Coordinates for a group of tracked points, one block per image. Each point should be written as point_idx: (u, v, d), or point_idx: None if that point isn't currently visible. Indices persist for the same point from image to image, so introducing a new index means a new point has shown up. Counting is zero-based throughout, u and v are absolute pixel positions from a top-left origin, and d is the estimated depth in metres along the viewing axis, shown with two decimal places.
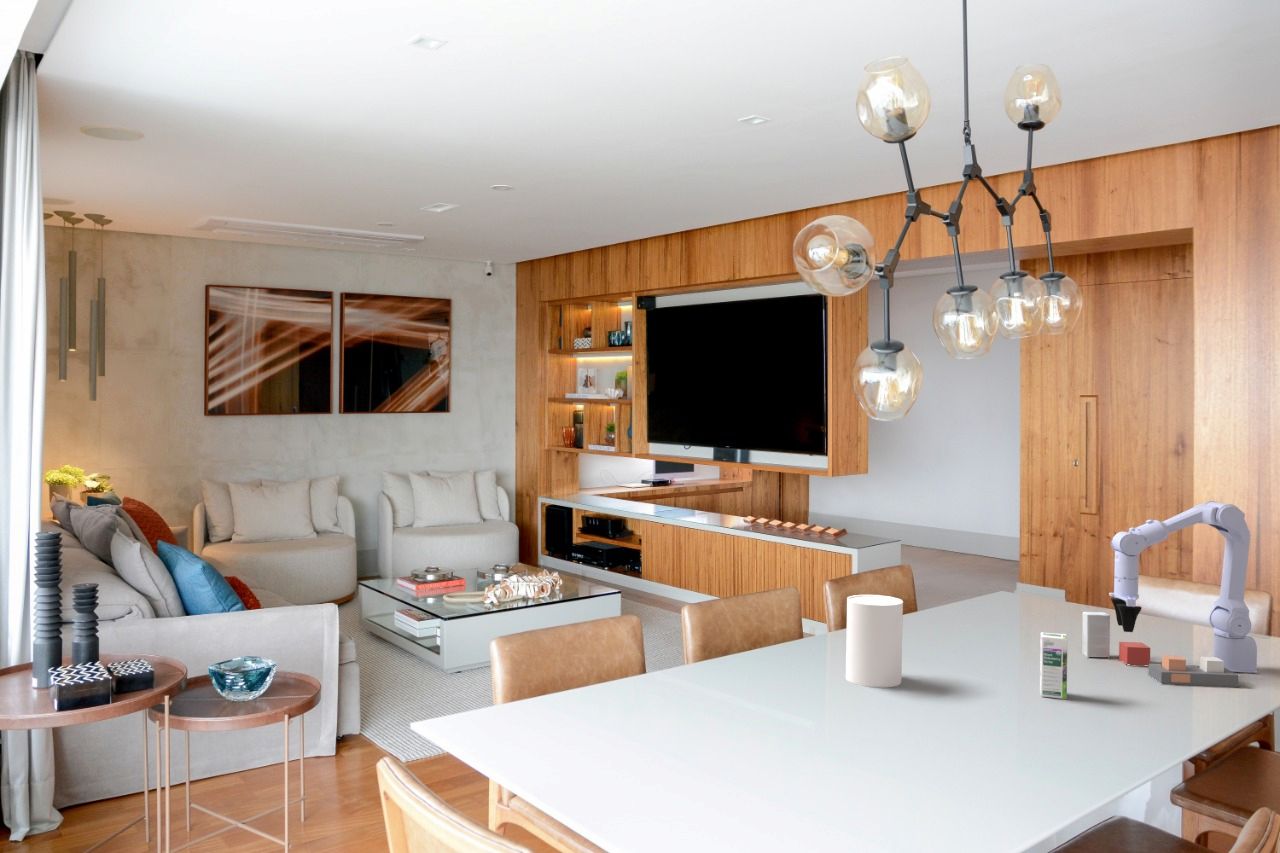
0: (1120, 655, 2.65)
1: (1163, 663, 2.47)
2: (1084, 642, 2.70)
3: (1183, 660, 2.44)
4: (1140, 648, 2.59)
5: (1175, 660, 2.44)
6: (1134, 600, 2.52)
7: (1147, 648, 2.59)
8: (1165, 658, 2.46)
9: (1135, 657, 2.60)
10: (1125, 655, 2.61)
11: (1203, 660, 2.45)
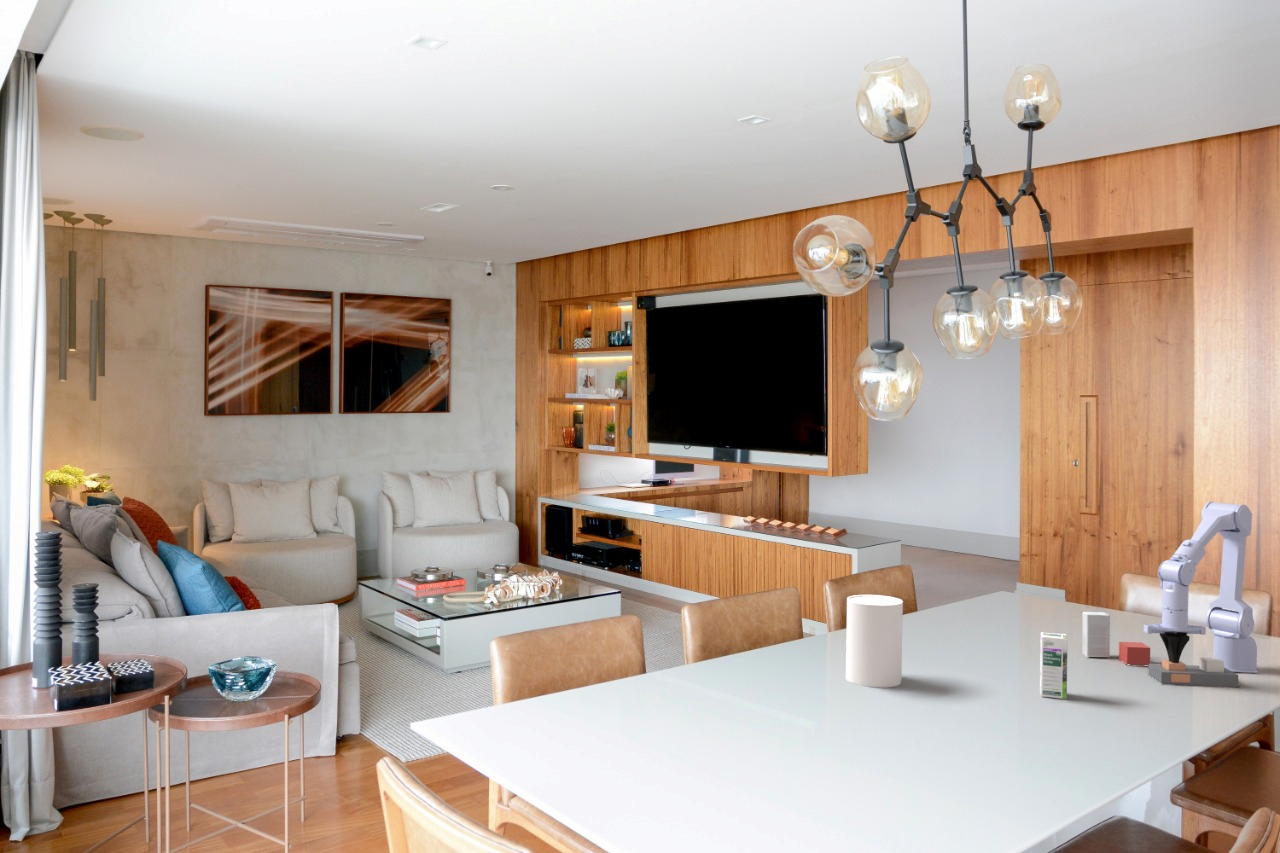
0: (1120, 655, 2.65)
1: None
2: (1084, 642, 2.70)
3: (1183, 665, 2.44)
4: (1140, 648, 2.59)
5: (1175, 665, 2.44)
6: (1147, 627, 2.45)
7: (1147, 648, 2.59)
8: (1165, 663, 2.46)
9: (1135, 657, 2.60)
10: (1125, 655, 2.61)
11: (1203, 660, 2.45)
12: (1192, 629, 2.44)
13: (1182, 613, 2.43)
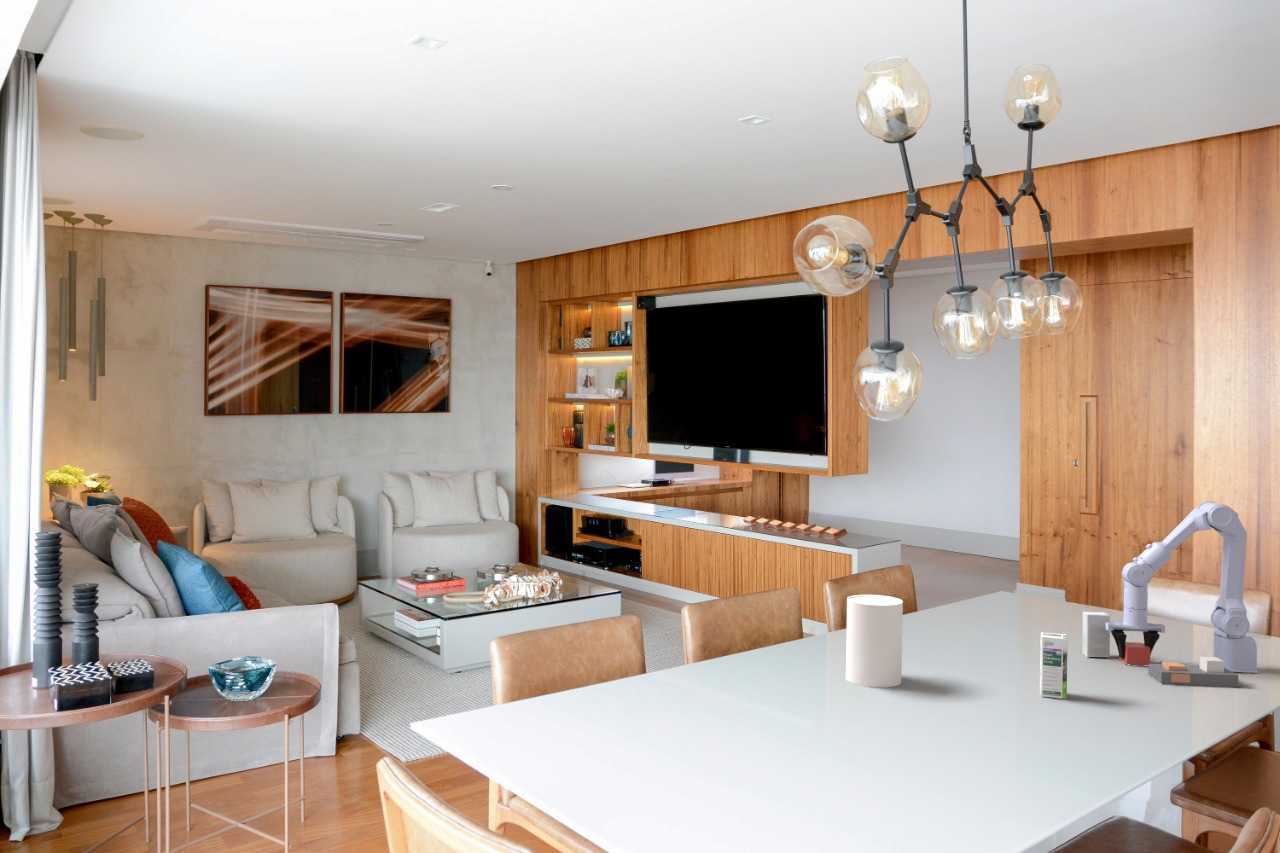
0: None
1: None
2: (1084, 642, 2.70)
3: (1183, 667, 2.44)
4: (1140, 648, 2.59)
5: (1175, 667, 2.44)
6: (1107, 624, 2.62)
7: (1147, 648, 2.59)
8: (1165, 665, 2.46)
9: (1135, 657, 2.60)
10: (1125, 655, 2.61)
11: (1203, 660, 2.45)
12: (1151, 627, 2.60)
13: (1140, 612, 2.59)
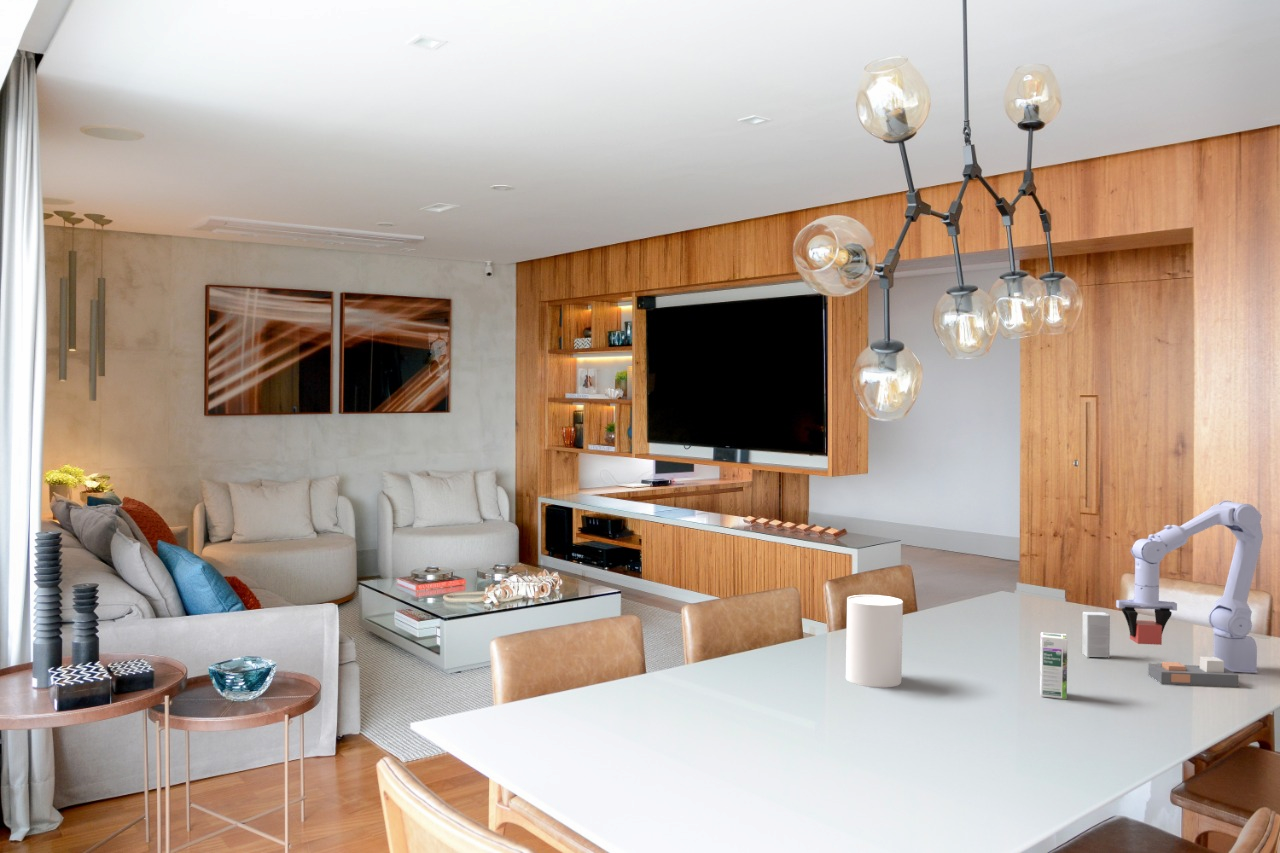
0: None
1: None
2: (1084, 642, 2.70)
3: (1183, 667, 2.44)
4: (1151, 626, 2.55)
5: (1175, 667, 2.44)
6: (1118, 602, 2.58)
7: (1159, 626, 2.54)
8: (1165, 665, 2.46)
9: (1146, 635, 2.55)
10: (1136, 633, 2.56)
11: (1203, 660, 2.45)
12: (1163, 605, 2.55)
13: (1152, 589, 2.54)
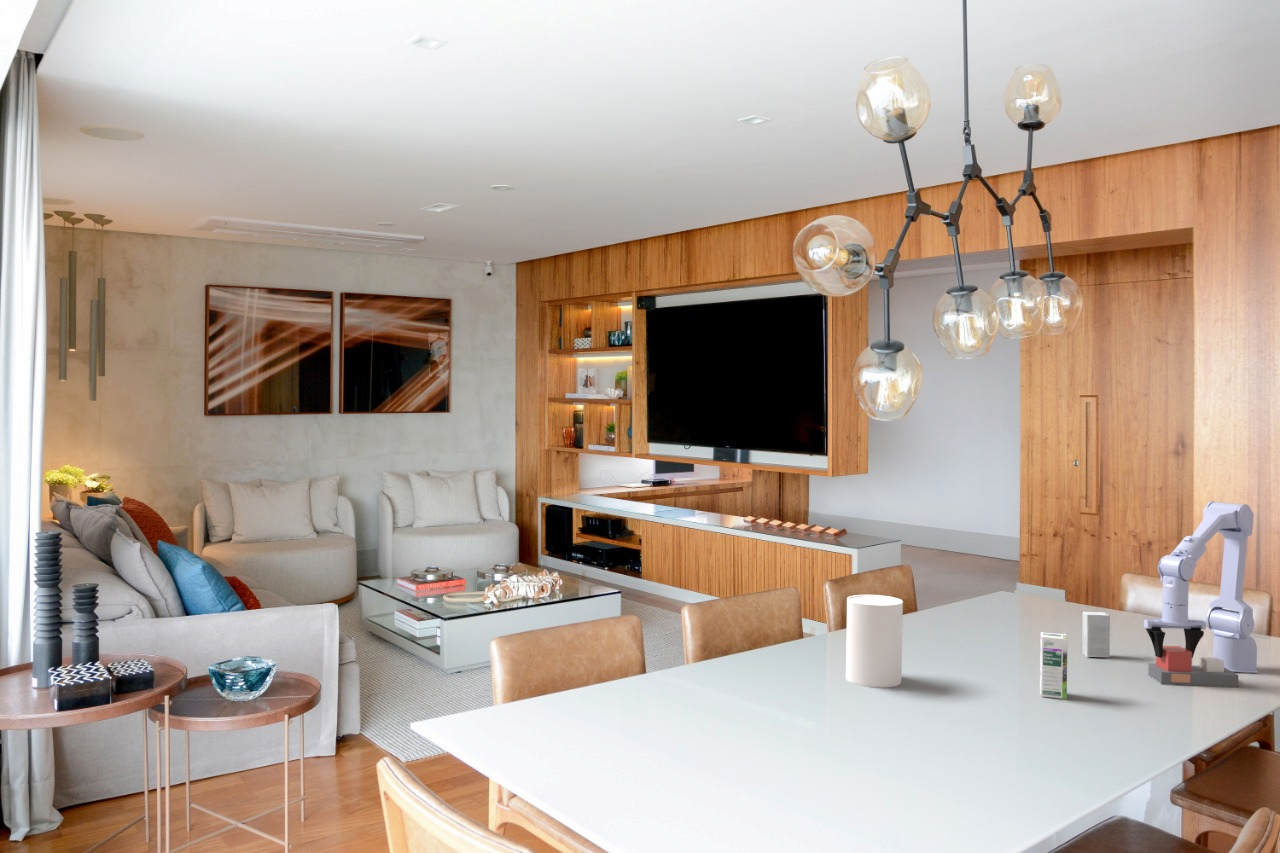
0: (1158, 660, 2.48)
1: None
2: (1084, 642, 2.70)
3: None
4: (1181, 652, 2.43)
5: None
6: (1147, 622, 2.45)
7: (1189, 652, 2.43)
8: None
9: (1176, 662, 2.43)
10: (1165, 660, 2.44)
11: (1203, 660, 2.45)
12: (1192, 624, 2.44)
13: (1182, 608, 2.43)
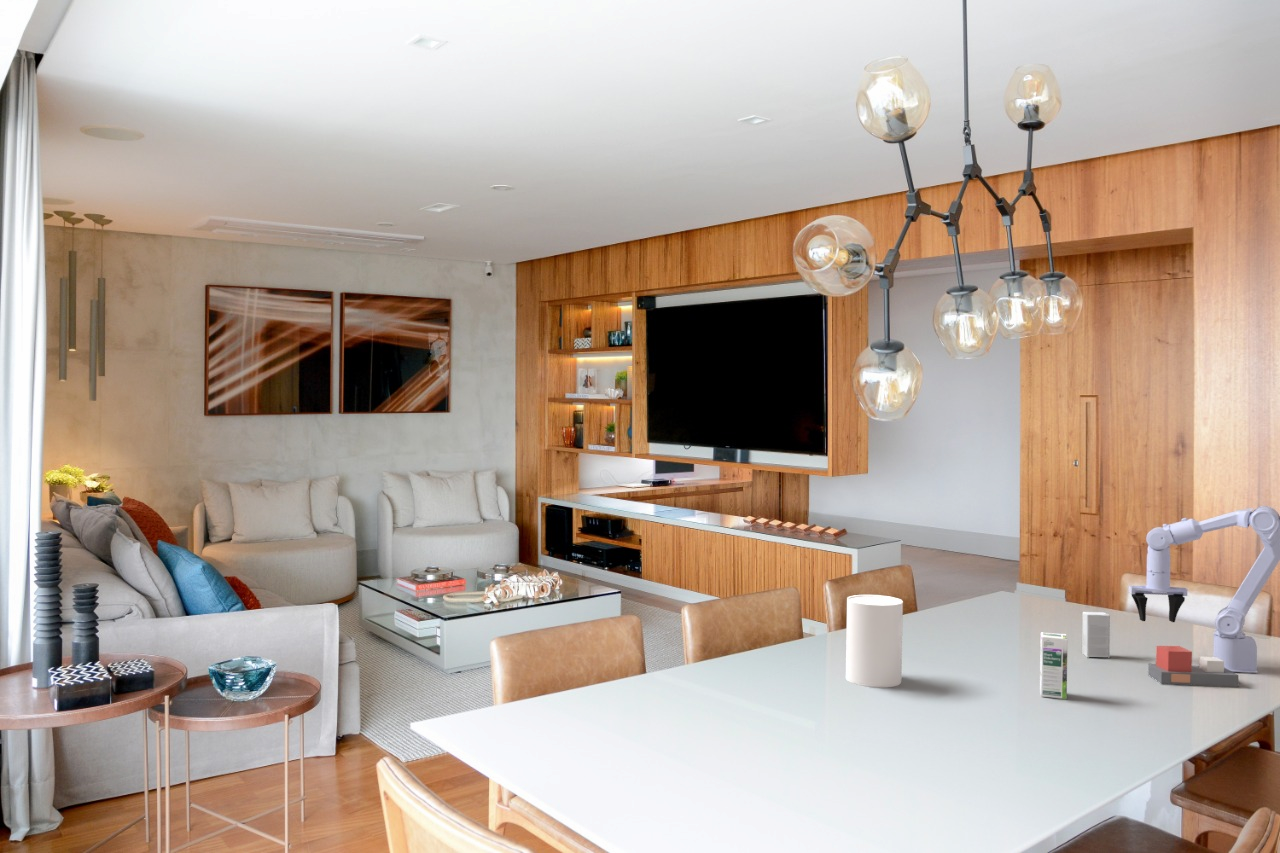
0: (1158, 660, 2.48)
1: None
2: (1084, 642, 2.70)
3: None
4: (1181, 652, 2.43)
5: None
6: (1131, 588, 2.67)
7: (1189, 652, 2.43)
8: None
9: (1176, 662, 2.43)
10: (1165, 660, 2.44)
11: (1203, 660, 2.45)
12: (1174, 590, 2.65)
13: (1164, 575, 2.64)
